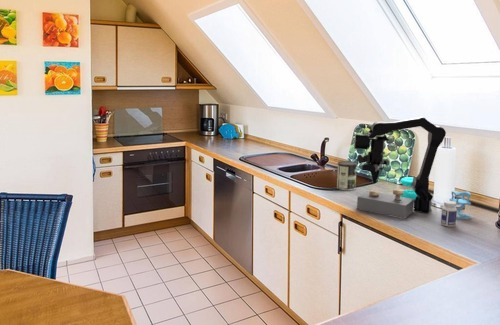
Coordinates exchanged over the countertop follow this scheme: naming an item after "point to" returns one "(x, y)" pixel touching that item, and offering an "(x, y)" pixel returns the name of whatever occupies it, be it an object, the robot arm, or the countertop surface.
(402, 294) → the countertop surface
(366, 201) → the housing
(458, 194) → the chair
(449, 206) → the pill bottle
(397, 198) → the near cap
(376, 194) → the far cap
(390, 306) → the countertop surface
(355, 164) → the coffee can
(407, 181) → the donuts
